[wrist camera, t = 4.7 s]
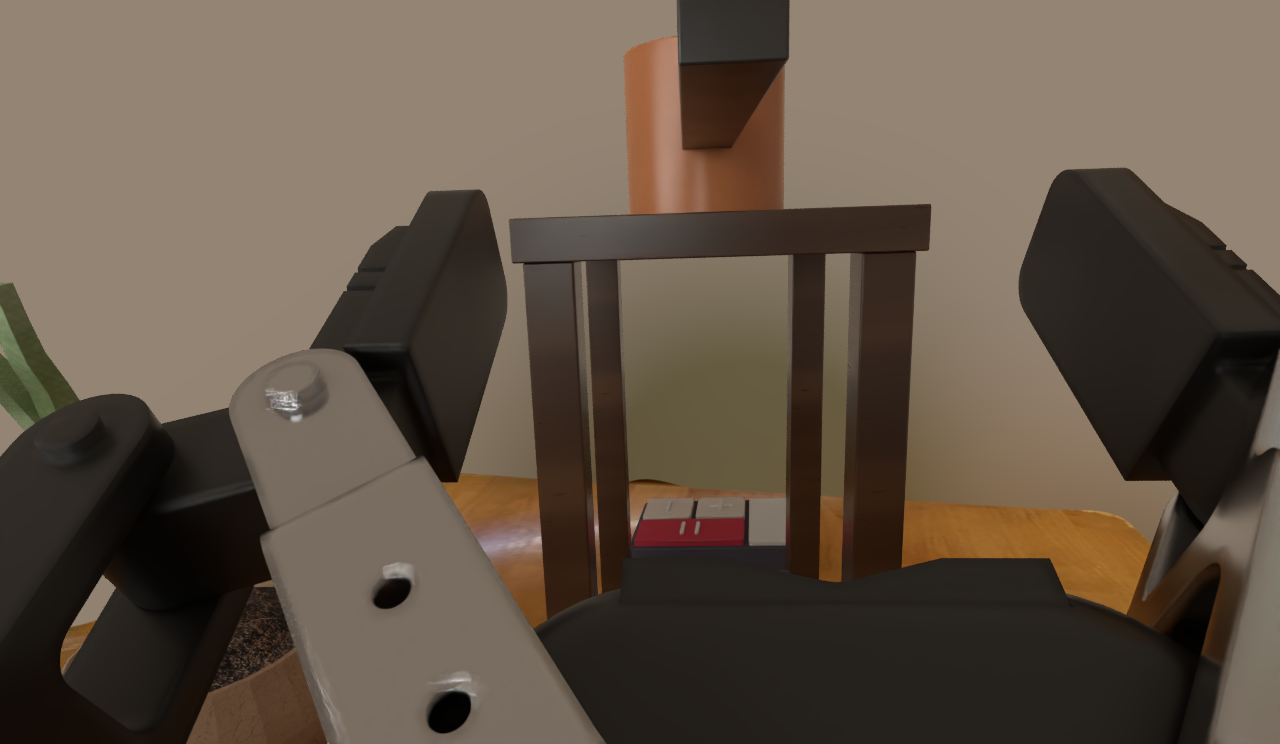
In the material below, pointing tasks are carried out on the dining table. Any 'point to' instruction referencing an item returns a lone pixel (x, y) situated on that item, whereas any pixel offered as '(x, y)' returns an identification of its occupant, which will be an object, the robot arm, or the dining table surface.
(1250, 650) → the robot arm
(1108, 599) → the dining table surface
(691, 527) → the calculator
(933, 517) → the dining table surface
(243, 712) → the potted plant
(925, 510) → the dining table surface
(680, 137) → the dipper cup
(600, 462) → the plant stand
